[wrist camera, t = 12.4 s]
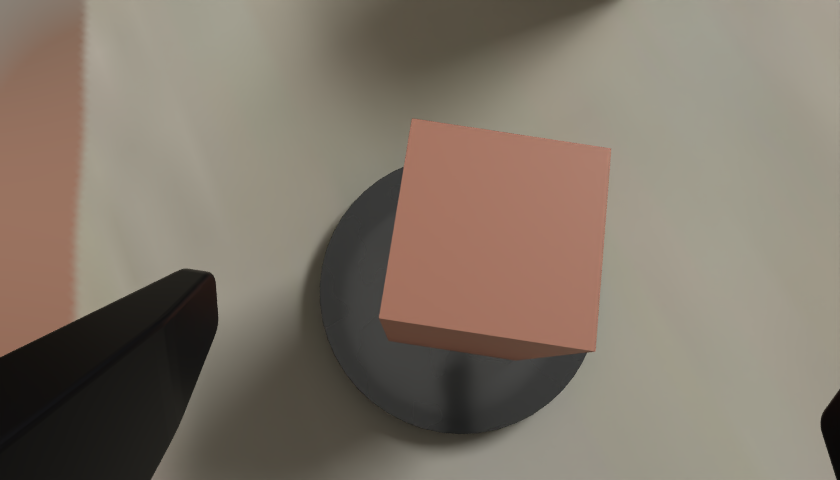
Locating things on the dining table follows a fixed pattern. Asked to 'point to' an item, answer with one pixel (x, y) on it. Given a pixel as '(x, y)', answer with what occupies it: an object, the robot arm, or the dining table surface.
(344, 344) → the charcoal dinner plate
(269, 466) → the dining table surface
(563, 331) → the upright salmon prism
